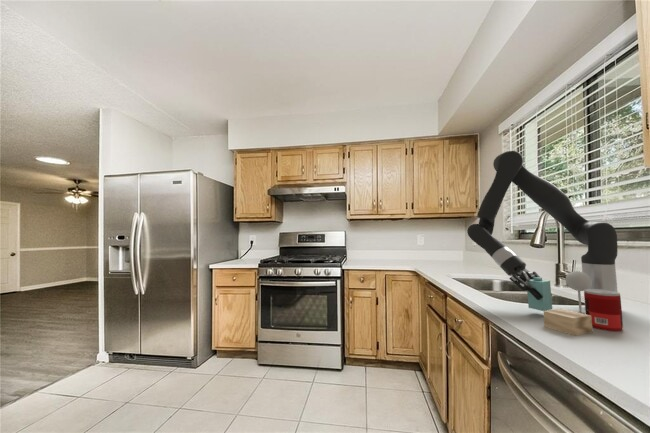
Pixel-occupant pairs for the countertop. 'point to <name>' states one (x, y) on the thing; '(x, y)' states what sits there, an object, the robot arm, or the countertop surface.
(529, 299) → the teal brick
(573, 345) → the countertop surface
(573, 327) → the wooden block
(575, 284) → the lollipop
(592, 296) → the canned food
